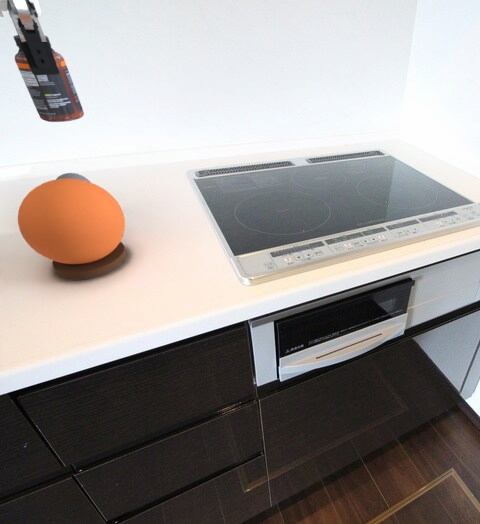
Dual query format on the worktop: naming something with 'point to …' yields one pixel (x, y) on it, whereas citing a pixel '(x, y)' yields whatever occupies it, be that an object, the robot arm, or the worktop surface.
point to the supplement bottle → (50, 89)
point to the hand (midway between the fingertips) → (44, 69)
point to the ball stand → (74, 227)
